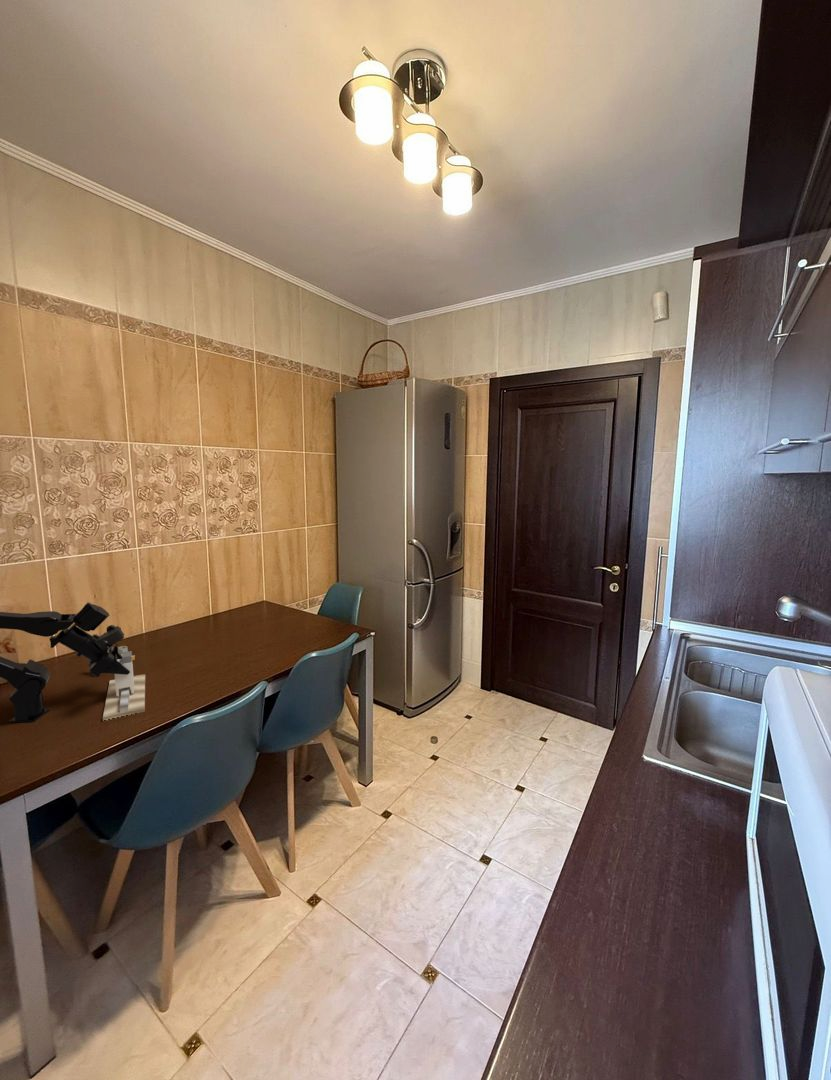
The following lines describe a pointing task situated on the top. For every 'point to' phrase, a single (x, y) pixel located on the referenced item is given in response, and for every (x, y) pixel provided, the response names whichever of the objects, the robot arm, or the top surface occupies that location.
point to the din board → (133, 699)
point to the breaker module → (122, 679)
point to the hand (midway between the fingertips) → (129, 670)
